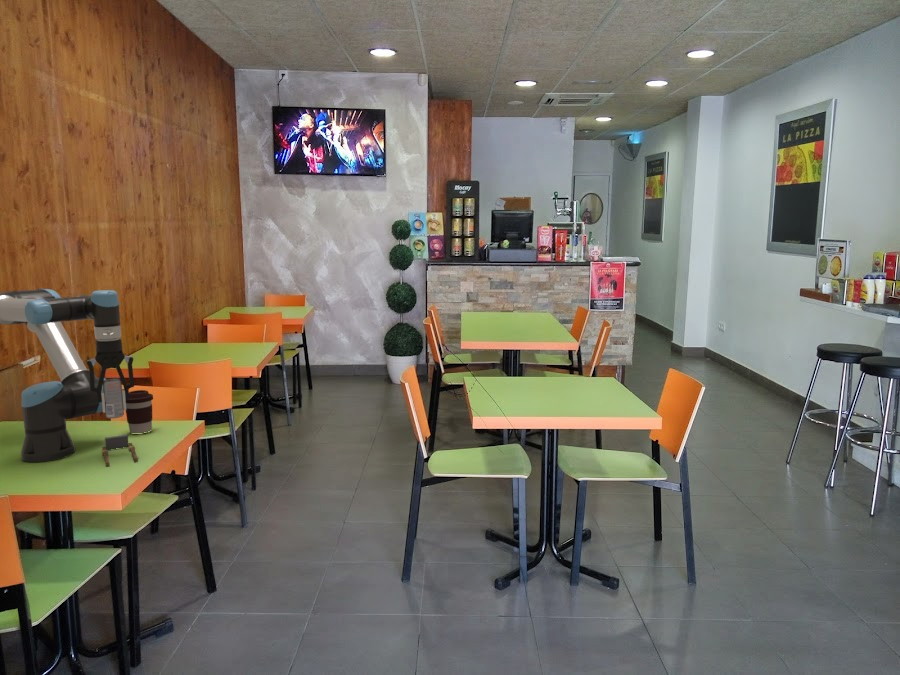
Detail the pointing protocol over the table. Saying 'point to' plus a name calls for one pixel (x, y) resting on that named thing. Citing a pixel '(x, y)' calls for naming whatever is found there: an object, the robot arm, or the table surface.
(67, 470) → the table surface
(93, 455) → the table surface
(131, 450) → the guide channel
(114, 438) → the stop block
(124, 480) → the table surface
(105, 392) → the energy drink
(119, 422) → the table surface
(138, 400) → the coffee cup
